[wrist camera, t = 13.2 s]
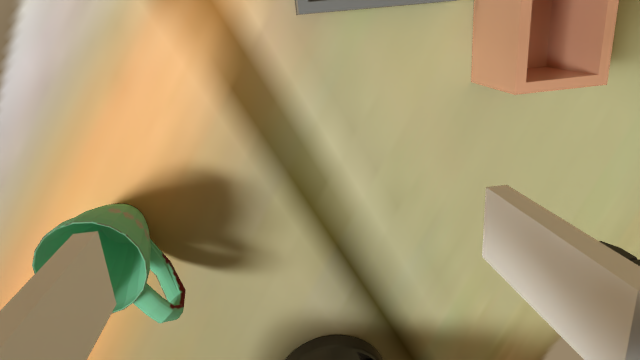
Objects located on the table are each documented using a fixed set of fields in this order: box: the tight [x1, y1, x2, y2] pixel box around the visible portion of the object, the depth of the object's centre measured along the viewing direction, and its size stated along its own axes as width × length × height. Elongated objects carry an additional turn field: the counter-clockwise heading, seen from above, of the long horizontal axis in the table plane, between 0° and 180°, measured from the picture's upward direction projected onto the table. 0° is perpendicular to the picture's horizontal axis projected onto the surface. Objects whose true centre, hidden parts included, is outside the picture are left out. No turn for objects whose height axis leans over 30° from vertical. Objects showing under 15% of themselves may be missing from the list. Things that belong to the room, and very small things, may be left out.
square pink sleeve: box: [471, 0, 619, 95], centre depth 43 cm, size 9×9×9 cm
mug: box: [32, 204, 185, 323], centre depth 45 cm, size 15×10×10 cm
